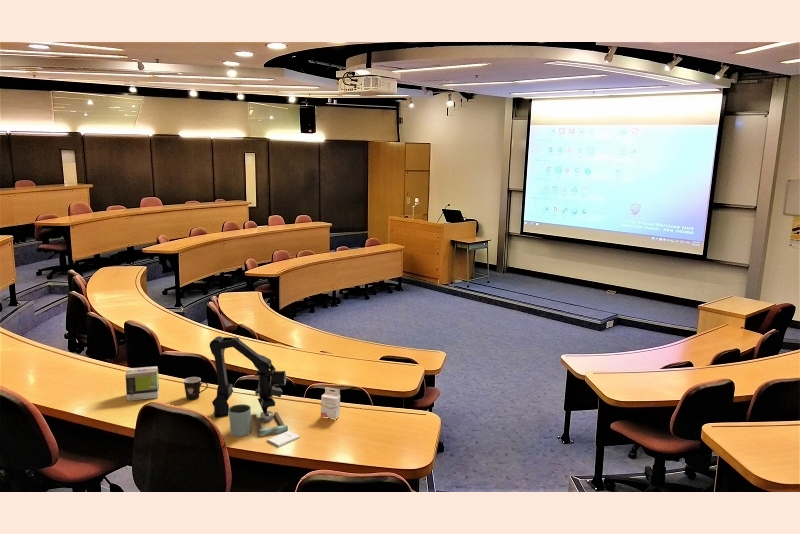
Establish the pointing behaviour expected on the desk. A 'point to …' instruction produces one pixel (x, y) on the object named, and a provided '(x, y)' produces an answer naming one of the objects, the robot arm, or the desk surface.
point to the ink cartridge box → (330, 403)
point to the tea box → (142, 383)
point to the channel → (271, 430)
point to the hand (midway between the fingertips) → (265, 413)
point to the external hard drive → (283, 438)
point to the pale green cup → (239, 420)
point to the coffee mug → (193, 387)
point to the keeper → (266, 416)
